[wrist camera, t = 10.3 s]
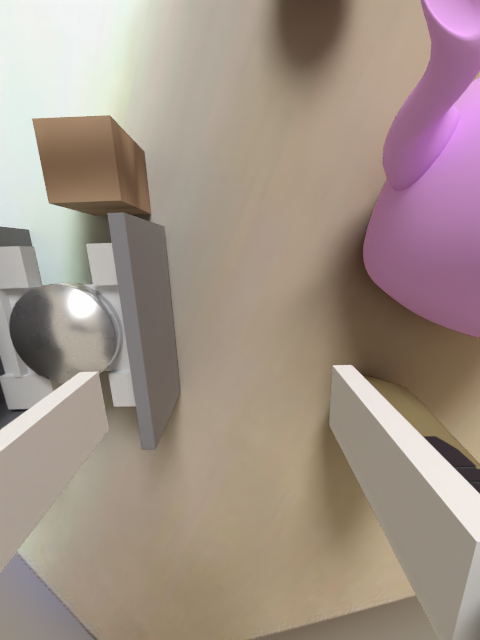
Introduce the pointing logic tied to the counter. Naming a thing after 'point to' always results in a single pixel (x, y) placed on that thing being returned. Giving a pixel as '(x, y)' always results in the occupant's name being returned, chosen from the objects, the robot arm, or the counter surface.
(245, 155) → the counter surface
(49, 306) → the disc
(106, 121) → the brown wooden block
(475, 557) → the robot arm
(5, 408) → the box
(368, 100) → the counter surface
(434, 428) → the squeeze bottle
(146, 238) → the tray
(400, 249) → the teapot
